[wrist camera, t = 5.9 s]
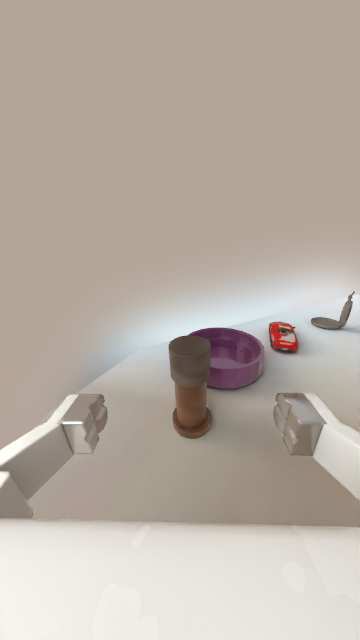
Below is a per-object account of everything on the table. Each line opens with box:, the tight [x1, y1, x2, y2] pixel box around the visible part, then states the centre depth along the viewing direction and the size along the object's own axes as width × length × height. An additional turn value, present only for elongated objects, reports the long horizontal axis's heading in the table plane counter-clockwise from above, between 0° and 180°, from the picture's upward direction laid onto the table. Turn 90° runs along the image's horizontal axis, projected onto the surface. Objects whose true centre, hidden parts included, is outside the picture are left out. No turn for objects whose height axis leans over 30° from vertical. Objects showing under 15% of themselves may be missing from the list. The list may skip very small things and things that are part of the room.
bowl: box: [188, 328, 264, 389], centre depth 37 cm, size 15×15×4 cm
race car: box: [269, 322, 298, 352], centre depth 45 cm, size 13×5×4 cm, turn 158°
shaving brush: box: [169, 335, 211, 438], centre depth 24 cm, size 5×5×12 cm
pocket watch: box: [311, 292, 354, 329], centre depth 49 cm, size 8×8×10 cm
